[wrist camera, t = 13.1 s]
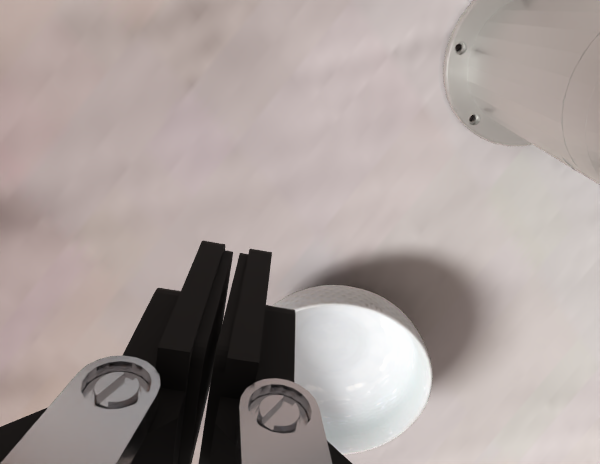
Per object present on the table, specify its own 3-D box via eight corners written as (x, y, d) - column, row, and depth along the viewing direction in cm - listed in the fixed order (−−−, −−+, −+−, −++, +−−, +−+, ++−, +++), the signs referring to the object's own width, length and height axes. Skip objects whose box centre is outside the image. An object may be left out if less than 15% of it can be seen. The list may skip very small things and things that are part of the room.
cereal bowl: (451, 325, 47) (475, 375, 41) (341, 424, 53) (347, 481, 47) (317, 228, 43) (320, 267, 37) (212, 346, 49) (199, 398, 42)
